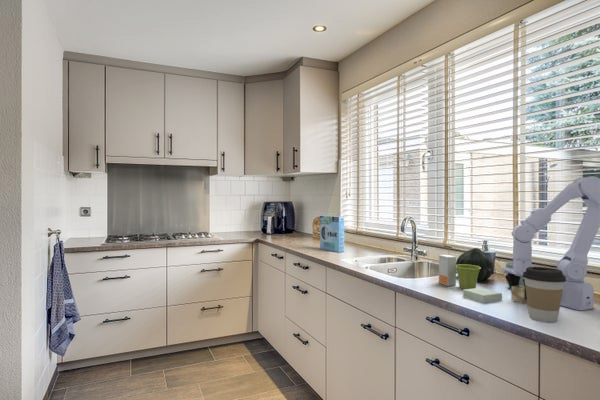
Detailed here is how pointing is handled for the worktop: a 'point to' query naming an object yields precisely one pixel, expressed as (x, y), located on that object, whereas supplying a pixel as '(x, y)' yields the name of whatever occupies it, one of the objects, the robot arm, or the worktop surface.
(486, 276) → the squash
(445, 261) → the skincare box
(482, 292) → the sage block
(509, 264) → the cup
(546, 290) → the coffee cup
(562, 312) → the worktop surface
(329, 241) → the gum box
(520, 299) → the maple block
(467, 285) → the plant pot
